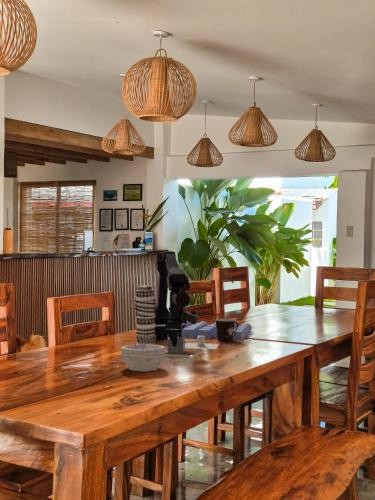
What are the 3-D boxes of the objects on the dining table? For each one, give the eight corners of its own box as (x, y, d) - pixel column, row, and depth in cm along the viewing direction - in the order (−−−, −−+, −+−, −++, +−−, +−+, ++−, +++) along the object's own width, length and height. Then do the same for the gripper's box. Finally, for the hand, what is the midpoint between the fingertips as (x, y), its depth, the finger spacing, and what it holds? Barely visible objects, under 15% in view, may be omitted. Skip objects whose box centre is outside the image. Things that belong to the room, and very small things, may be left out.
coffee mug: (218, 344, 281) (219, 321, 281) (212, 341, 290) (212, 319, 290) (244, 343, 284) (244, 320, 284) (237, 340, 293) (237, 318, 293)
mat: (159, 356, 250) (159, 354, 250) (164, 351, 261) (164, 349, 261) (188, 357, 248) (188, 355, 248) (191, 352, 259) (191, 350, 259)
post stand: (181, 350, 263) (182, 338, 263) (186, 345, 277) (186, 333, 277) (216, 352, 262) (216, 339, 262) (219, 346, 276) (219, 334, 275)
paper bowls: (142, 363, 236) (142, 341, 235) (174, 369, 226) (174, 346, 226) (111, 369, 224) (111, 346, 224) (144, 375, 214) (144, 351, 214)
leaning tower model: (154, 346, 273) (152, 287, 272) (133, 346, 275) (131, 287, 274) (159, 342, 282) (157, 284, 281) (139, 341, 284) (137, 284, 283)
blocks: (165, 338, 299) (165, 328, 299) (184, 329, 333) (184, 319, 333) (241, 342, 291) (241, 331, 291) (252, 332, 324) (252, 322, 324)
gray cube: (183, 354, 251) (183, 338, 251) (167, 353, 252) (167, 337, 252) (185, 351, 257) (185, 336, 257) (169, 351, 258) (170, 335, 258)
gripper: (194, 307, 244) (194, 349, 244) (200, 303, 263) (199, 341, 263) (165, 307, 246) (164, 348, 246) (172, 302, 264) (172, 340, 264)
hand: (176, 344), depth 255 cm, fingers open, 9 cm apart
